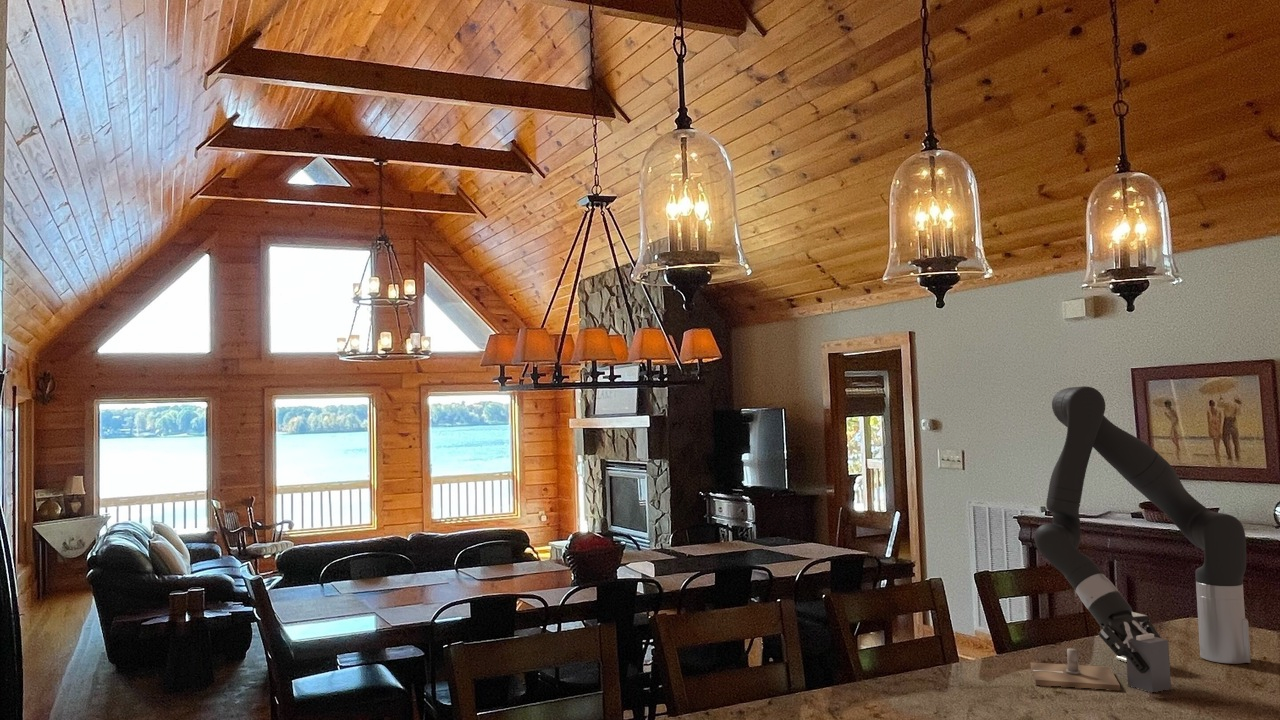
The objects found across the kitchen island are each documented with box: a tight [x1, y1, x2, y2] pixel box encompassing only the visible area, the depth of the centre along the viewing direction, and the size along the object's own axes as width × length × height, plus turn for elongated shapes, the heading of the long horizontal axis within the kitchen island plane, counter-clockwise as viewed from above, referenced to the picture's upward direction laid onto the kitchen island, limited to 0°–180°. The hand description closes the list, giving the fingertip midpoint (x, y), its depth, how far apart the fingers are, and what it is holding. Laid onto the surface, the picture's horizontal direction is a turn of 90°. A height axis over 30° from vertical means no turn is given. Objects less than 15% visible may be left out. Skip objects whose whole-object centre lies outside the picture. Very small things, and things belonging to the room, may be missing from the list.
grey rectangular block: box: [1125, 633, 1172, 693], centre depth 191 cm, size 6×6×11 cm
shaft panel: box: [1030, 647, 1121, 691], centre depth 198 cm, size 16×14×6 cm
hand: (1156, 668), depth 189 cm, fingers closed on grey rectangular block, 5 cm apart
